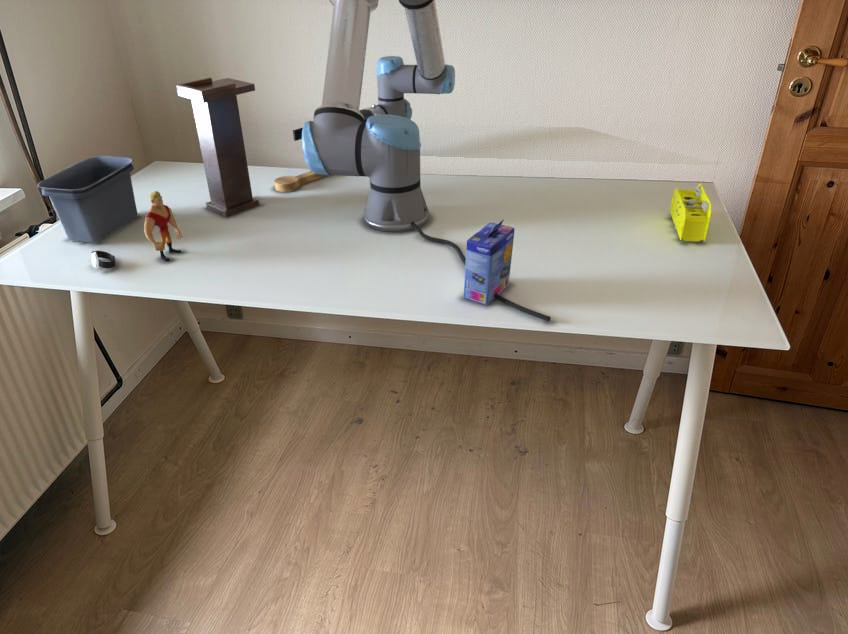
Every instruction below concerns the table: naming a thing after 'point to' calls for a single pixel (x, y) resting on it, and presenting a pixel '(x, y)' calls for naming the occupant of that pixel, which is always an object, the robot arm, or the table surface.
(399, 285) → the table surface
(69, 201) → the storage bin
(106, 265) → the watch
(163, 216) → the action figure
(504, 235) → the ink cartridge box
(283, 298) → the table surface
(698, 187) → the yellow toy chassis
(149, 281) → the table surface
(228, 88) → the pedestal lectern
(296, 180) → the wooden spoon
